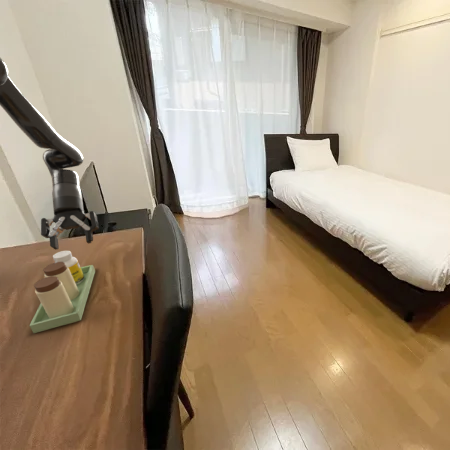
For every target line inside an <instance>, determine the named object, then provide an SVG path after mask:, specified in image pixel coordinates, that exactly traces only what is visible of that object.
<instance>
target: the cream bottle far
mask: <svg viewBox="0 0 450 450" xmlns="http://www.w3.org/2000/svg"><path fill="white" fill-rule="evenodd" d="M33 287H34V289H35V290H34V292H35V294H36V297H37V299H38V300H39V302H40V304H42V306H43V307H44V309H45V311H46V313H47V315H48V317H49V318H50V319H52V318H55V317H59V316H63V315H67V314H71V313H72V312H73V311H74V307H73V305H72V303H71V301H70V299H69V296H68V294H67V292H66V290H65V288H64V286H63V284H62V282H61V281H59V279H58V277H56V276H51V277H46V278H45V277H43V278H41V279H39V280H38V281H36V282H35V283H34V285H33Z"/></svg>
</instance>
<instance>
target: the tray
mask: <svg viewBox="0 0 450 450" xmlns="http://www.w3.org/2000/svg"><path fill="white" fill-rule="evenodd" d="M80 267H81V270H82V272H83V275H84V280H83V281H82V282H81V283H79V284H78V285H76V286H77V288H78V290H79V292H80V293H79V295H78V296H77V297H76V298H74V299H73V300H70V301H71V303H72V305H73V307H74V311H73V312H72V313H71V314H67V315H63V316H59V317H55V318H52V319H50V318H49V317H48V315H47V313H46V311H45V309H44V307H43V306H42V304H41V303H40V304H39V305H38V307H37V310H36V312H35V313H34V316H33V318H32V320H31V322H30V324H29V328H30V330H31V331H32V333H33V334H36V333H40V332H43V331H47V330H51V329H54V328H58V327H61V326H65V325H69V324H72V323H77V322H79V321H82V318H83V314H84V311H85V307H86V304H87V301H88V298H89V295H90V291H91V287H92V284H93V280H94V277H95V274H96V269H95V267H94V264H90V265H85V266H80Z"/></svg>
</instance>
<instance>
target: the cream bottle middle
mask: <svg viewBox="0 0 450 450" xmlns="http://www.w3.org/2000/svg"><path fill="white" fill-rule="evenodd" d="M42 271H43V273H44V274H43V276H44V278H46V277H51V276H56V277H58V279H59V281H61V282H62V284H63V286H64V288H65V290H66V292H67V294H68V296H69V299H70V300H73V299H74V298H76V297H77V296H78V295H79V293H80V292H79V290H78V288H77V286H76V283H75V281H74V279H73V277H72V275H71V272H70V270H69V268H68V267H67V266H66V265H65V263H64V262H56V263H55V262H53V263H50V264H47V265H46V266H45V267H43V270H42Z"/></svg>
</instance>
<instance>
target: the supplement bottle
mask: <svg viewBox="0 0 450 450" xmlns="http://www.w3.org/2000/svg"><path fill="white" fill-rule="evenodd" d="M52 258H53V261H54V263H56V262H64V263H65V265H66V266H67V267H68V268H69V270H70V272H71V275H72V277H73V279H74V281H75V283H76V285H78V284H79V283H81V282H82V281H83V280H84V275H83V272H82V270H81V267H82V266H81V265H80V263H79V261H78V258H77V257H75V256H73V253H72V252H71V251H70V250H61V251H58V252H56V253H54V254H53V255H52Z"/></svg>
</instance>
